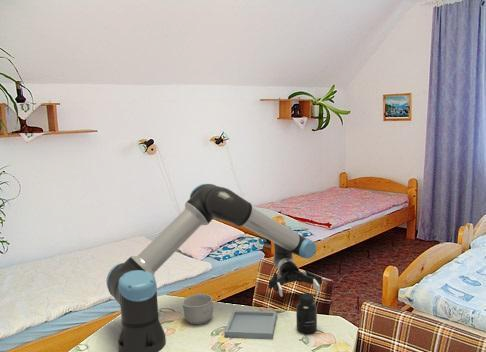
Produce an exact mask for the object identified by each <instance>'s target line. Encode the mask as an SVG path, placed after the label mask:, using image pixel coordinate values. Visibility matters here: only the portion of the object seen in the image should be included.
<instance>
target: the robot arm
mask: <svg viewBox="0 0 486 352" xmlns="http://www.w3.org/2000/svg"><path fill="white" fill-rule="evenodd" d="M184 207H185V208H184V210H183V211H182V212H181V213H179V215H178V216H176V218H174V219H173V220H172V221H171V222H170V224H168V225H167V226H166V228H165V229H163V230H162V231H161V232H160V233H159V234H158V235H157V236H156V237H155V238H154V239H153V240H152V241H151V242H150V243H149V244H148V245H147V246H146V247H144V249H143V250H142V251H141V252H139V254H137V255H133V256H132V255H131V256H130V257H129V258H128V259H126V261H124V262H120V263H117V264H116V265H114V266H113V267H112V268H111V269H110V270H109V271H108V273H107V277H106V287H107V290H108V292H109V294H110V296H112V297H113V298H114V299H115V301H116V302H117V303H118V304H119V306H120V307H119V308H120V317H121V329H120V333H119V337H118V340H117V348H118V351H119V352H159V351H160V350H162V349H163V348H164V347H165V345H166V343H167V342H166V341H167V339H166V333H165V331H164V328H163V326H162V324H161V321H160V318H159V305H158V304H159V303H158V295H157V294H158V291H157V290H158V285H157V280H156V277H155V274H156V272H158V271H159V269H160V268H161V267H162V266H163V265H164V264H165V263H166V262H167V261H168V260H169V259H170V258H171V257H172V256H173V254H175V253H176V252H177V251H178V250H179V248H180V247H181V246H182V245H183V244H184V243H186V242H187V241H188V240H189V238H191V237H192V235H193V234H195V232H197V231H198V229H200V227H202V226H208V225H209V224H210V223H211V222H212V221H213V220H214V219H216V220H221V221H223V222H227V223H230V224H232V225H234V226H236V227H239V228H240V227H244V228H246V229H247V230H250V231H252V232H254V233H255V234H257V235H258V236H261V237H263V238H265V239H267V240H269V241H271V242H272V243H273V246H274V248H273V249H274V255H273V263H275V264H274V266H275V267H276V269H277V271H278V273H279V274H277V272H274V273H273V276H272V277H271V278H270V279H269V281H268V289H270V290H271V289H273V292H278V293H279V296H280V297H283V296H284V294H283V287H282V286H283V285H286V284H287V283H293V282H299V283H306V284H311V285H312V286H313V288H314V289H315V291H316V292H317V294H320V293H321V285H323V277H322V276H320V275H317V274H315V273H312V272H310V271H309V270H304V272H301V271H300V269H299V268H298V266H297V264H296V262H295V261H294V259H293V255H296V256H298V257H301V258H302V259H303V258H304V259H307V260H308V259H311V258H313V257H314V256H315V254H316V252H317V245H316V242H315V241H313V240H312V239H310V238H307V237H304V236H302V235H301V234H299V233H298V232H295V231H294V230H292V228H291V226H289V225H286V224H285V225H283V224H282V223H280V222H278V221H276V220H275V219H273V218H271V217H269V216H267V214H265V213H262V212H261V211H259V210H257V209H256V208H253V207H254V206H253V204H252V203H251V202H249V201H248V200H246V199H244V198H243V197H241V196H240V195H238V194H236V193H235V192H234V191H232V190H230V189H229V188H226V187H224V186H223V187H222V186H217V185H215V184H212V183H202V184H199V185H197V186H195V187H194V188H193V190H192V191H191V192H190V194H189V199H188V200H187V201H186V202H185V203H184Z"/></svg>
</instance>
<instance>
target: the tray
mask: <svg viewBox="0 0 486 352" xmlns="http://www.w3.org/2000/svg"><path fill="white" fill-rule="evenodd" d="M277 314H278V313H277V311H263V310H261V311H260V310H232V312H231V315H230V317H229V320H228V322H227V324H226V327H225V329H224V331H223V333H224V334H223V335H224V338H229V339H231V338H232V339H255V340H258V339H259V340H273V339H274V333H275V328H276V322H277V319H278V315H277Z"/></svg>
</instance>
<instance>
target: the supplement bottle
mask: <svg viewBox="0 0 486 352" xmlns="http://www.w3.org/2000/svg"><path fill="white" fill-rule="evenodd" d="M314 298H315V297H314V295H312V294H310V293H302V294H300V295H299V297H298V303H297V304H296V305H295V306H296V317H295V318H296V331H297V332H298V333H299V334H302V335H306V336H308V334H309V335H313V334H315V333H316V332H317V330H318V315H317V314H318V309H317V308H318V307H317V305H316V304H315V299H314Z"/></svg>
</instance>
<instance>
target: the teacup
mask: <svg viewBox="0 0 486 352" xmlns="http://www.w3.org/2000/svg"><path fill="white" fill-rule="evenodd" d="M181 304H182V308H183V315H184V317H185V320H187V322H189V323H191V324H194V325H202V324H205V323H207V322H208V321H209V320H210V319H211V318H212V316H213V312H214V307H213V297H212V296H211V295H210V294H204V293H202V292H200V291H199V292H197V294H192V295H189V296H186V297H185V298H184V299H183V300H182V302H181Z"/></svg>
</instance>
